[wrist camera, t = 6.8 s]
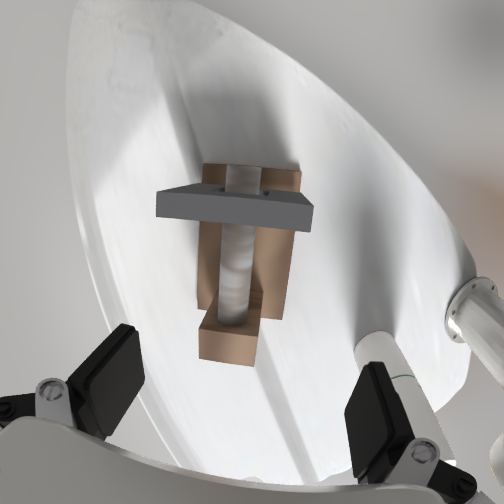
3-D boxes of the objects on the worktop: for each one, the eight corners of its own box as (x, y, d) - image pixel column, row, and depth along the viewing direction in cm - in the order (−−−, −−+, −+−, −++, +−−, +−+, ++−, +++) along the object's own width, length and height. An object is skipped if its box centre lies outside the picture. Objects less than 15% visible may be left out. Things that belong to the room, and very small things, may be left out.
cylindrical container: (367, 372, 41) (406, 497, 17) (345, 350, 40) (382, 489, 16) (401, 347, 39) (461, 466, 16) (381, 323, 38) (448, 453, 15)
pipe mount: (300, 171, 33) (312, 172, 22) (281, 315, 39) (281, 369, 28) (206, 163, 34) (172, 161, 23) (199, 305, 40) (172, 353, 29)
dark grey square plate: (300, 192, 31) (313, 205, 20) (298, 209, 32) (310, 232, 20) (198, 183, 32) (156, 191, 21) (197, 199, 33) (156, 216, 21)
